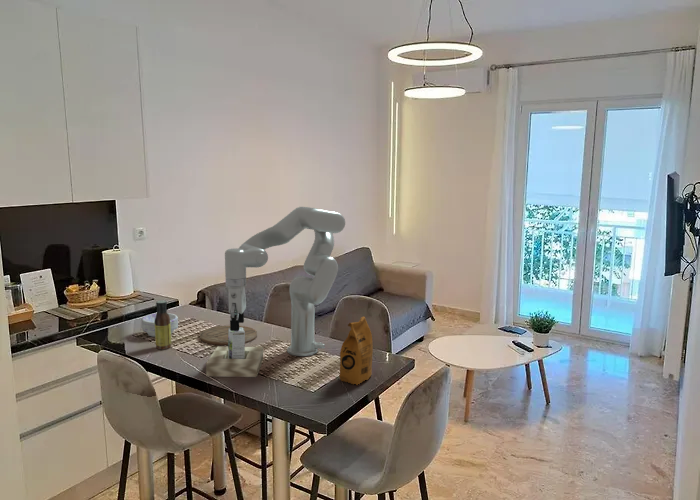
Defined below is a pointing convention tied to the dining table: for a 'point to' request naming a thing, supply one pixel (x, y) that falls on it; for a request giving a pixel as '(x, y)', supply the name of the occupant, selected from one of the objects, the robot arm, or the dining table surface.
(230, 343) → the syrup box
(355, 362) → the coffee package
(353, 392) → the dining table surface
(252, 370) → the socket block
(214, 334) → the trivet
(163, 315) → the sauce bottle
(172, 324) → the paper bowls
